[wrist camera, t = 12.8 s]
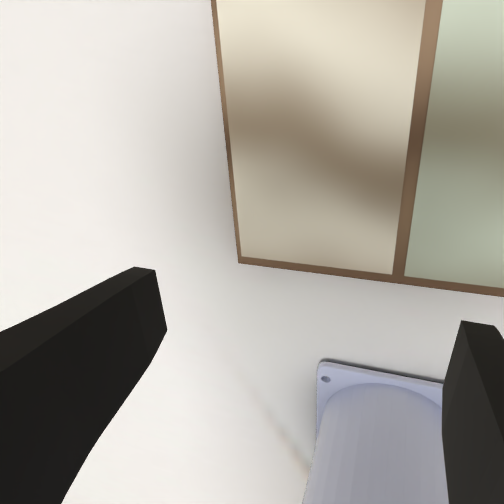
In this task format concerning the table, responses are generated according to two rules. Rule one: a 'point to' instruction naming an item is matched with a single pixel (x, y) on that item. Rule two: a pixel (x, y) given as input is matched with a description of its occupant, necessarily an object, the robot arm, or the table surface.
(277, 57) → the game track
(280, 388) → the table surface
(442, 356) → the table surface
